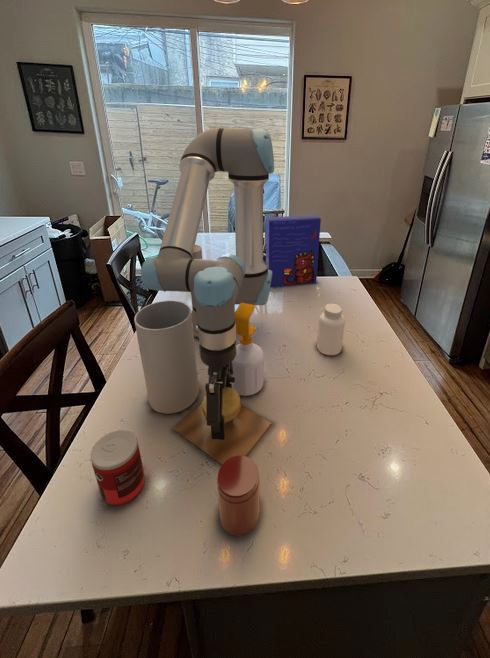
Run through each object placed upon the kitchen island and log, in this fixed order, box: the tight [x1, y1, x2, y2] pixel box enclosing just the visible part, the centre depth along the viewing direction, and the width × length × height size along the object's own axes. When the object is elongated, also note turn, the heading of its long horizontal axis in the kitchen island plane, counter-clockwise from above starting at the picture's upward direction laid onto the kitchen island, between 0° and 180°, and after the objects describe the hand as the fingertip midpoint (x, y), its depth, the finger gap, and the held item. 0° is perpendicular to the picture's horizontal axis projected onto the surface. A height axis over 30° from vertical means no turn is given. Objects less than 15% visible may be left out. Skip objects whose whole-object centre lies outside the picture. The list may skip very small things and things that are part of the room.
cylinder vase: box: [133, 299, 200, 415], centre depth 81 cm, size 12×12×25 cm
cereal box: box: [265, 214, 322, 289], centre depth 141 cm, size 22×6×30 cm, turn 104°
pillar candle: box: [192, 244, 203, 259], centre depth 148 cm, size 10×10×15 cm
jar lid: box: [201, 387, 242, 423], centre depth 75 cm, size 9×9×2 cm
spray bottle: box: [230, 303, 265, 397], centre depth 86 cm, size 9×9×25 cm
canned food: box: [90, 429, 146, 506], centre depth 63 cm, size 8×8×11 cm
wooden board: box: [173, 402, 272, 466], centre depth 77 cm, size 18×14×1 cm
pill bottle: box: [316, 303, 346, 356], centre depth 102 cm, size 8×8×15 cm
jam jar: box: [216, 456, 260, 537], centre depth 59 cm, size 7×7×11 cm
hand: (222, 420), depth 77 cm, fingers closed on jar lid, 8 cm apart
